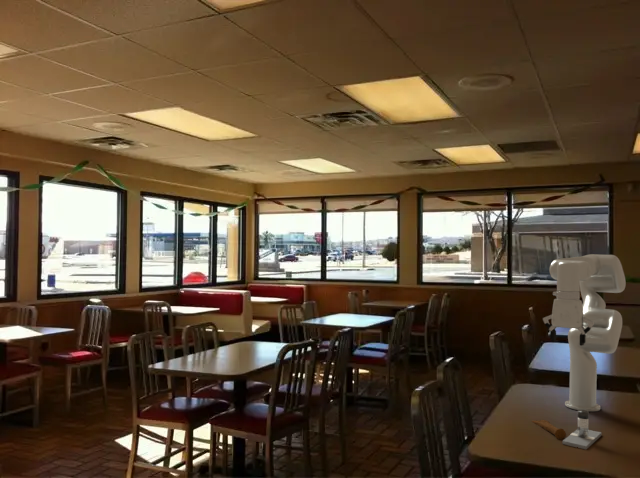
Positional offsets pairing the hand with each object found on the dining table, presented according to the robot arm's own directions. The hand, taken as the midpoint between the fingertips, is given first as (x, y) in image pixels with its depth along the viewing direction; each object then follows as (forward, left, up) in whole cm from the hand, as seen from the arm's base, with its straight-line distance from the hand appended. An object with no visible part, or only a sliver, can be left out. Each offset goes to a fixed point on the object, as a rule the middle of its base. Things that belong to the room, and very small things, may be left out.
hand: (567, 343), depth 206 cm
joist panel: (+19, +11, -28) cm, 35 cm away
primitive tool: (+15, -1, -28) cm, 32 cm away
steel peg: (+19, +11, -27) cm, 34 cm away
